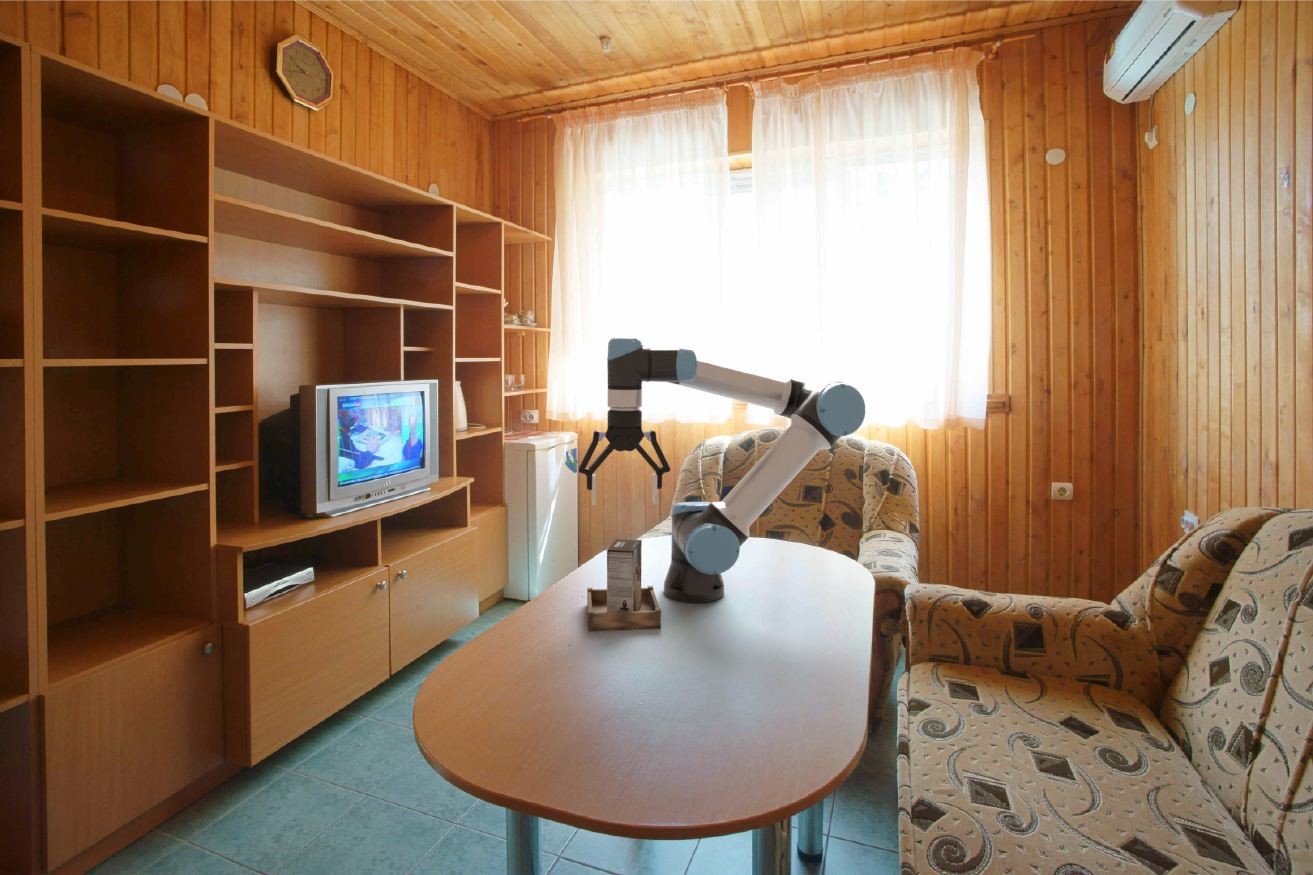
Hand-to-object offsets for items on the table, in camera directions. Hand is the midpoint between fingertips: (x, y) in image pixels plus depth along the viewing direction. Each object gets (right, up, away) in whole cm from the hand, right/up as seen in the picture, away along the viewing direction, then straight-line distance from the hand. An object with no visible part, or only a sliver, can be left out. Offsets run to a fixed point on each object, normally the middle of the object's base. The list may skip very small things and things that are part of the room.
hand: (624, 503), depth 152 cm
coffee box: (0, -25, +3) cm, 26 cm away
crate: (-1, -26, +3) cm, 26 cm away
